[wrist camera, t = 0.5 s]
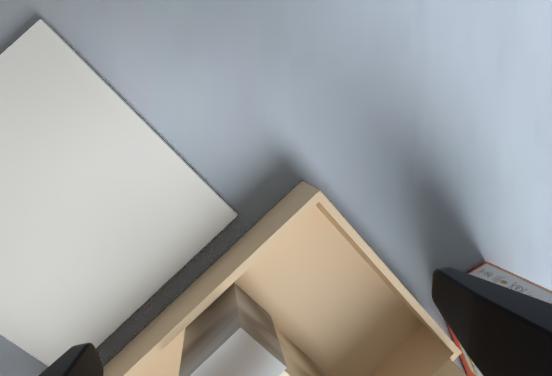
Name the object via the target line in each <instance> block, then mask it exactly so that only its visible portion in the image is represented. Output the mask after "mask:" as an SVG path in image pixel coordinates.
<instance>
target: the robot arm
mask: <svg viewBox="0 0 552 376" xmlns="http://www.w3.org/2000/svg"><path fill="white" fill-rule="evenodd" d="M432 298H433V301H434V303H435V305H436V306H437V308H438V309H439V311H440V313H441V314H442V316H443V317H444V319H445V321H446V322H447V324H448V325H449V327H450V328H451V330H452V332H453V333H454V335H455V336H456V338H457V340H458V341H459V343H460V344H461V346H462V347H463V349H464V350H465V352H466V353H467V355H468V356H469V358H470V359H471V360H472V362H473V363H474V364H475V366H476V367H477V368H478V370H479V371H480V372H481V373H482V375H483V376H552V304H551V303H548V302H545V301H543V300H540V299H537V298H534V297H531V296H529V295H526V294H523V293H520V292H518V291H515V290H512V289H509V288H507V287H504V286H501V285H498V284H496V283H493V282H490V281H487V280H485V279H482V278H479V277H476V276H474V275H471V274H468V273H465V272H462V271H460V270H457V269H454V268H451V267H444V268H440V269H436V270H435V271H434V272H433V280H432ZM103 375H104V369H103V365H102V363H101V360H100V358H99V356H98V353H97V351H96V349H95V346H94V345H93V344H92V343H89V342H88V343H83V344H78V345H74V346H72V347H71V348H69V349H68V350H67V351H66V352H65V353H64V354H63V355H61V356H60V357H59V358H58V359H57V360H56V361H55V362H53V363H52V364H51V365H50V366H49V367H48V368H47V369H45V370H44V371H43V372H42V373H41V374H40V375H39V376H103Z"/></svg>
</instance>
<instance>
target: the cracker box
mask: <svg viewBox="0 0 552 376" xmlns="http://www.w3.org/2000/svg"><path fill="white" fill-rule="evenodd" d="M468 274H471V275H474V276H476V277H479V278H482V279H485V280H487V281H490V282H493V283H496V284H498V285H501V286H504V287H507V288H509V289H512V290H515V291H518V292H520V293H523V294H526V295H529V296H531V297H534V298H537V299H540V300H543V301H545V302H548V303H551V304H552V291H550V290H548V289H546V288H544V287H542V286H539V285H537V284H535V283H533V282H531V281H528V280H526V279H524V278H522V277H519V276H517V275H515V274H513V273H511V272H509V271H506V270H504V269H502V268H500V267H498V266H495V265H493V264H491V263H489V262H485V263H483V264H481V265H480V266H478V267H477V268H475V269H473V270H472V271H470V272H468ZM447 325H448V324H447ZM448 327H449V325H448ZM449 330H450V332H451V335H452V337H453V340H454V342H455V345H456V346H457V347H458V348H459V349H460V351H461V352H462V353H461V354H460V357H461V360H462V363H463V365H464V368H465V370H466V373H467V375H468V376H483V375H482V373H481V372H480V371H479V370H478V368H477V367H476V366H475V364H474V363H473V362H472V360H471V359H470V358H469V356H468V355H467V353H466V352H465V350H464V349H463V347H462V346H461V344H460V343H459V341H458V340H457V338H456V336H455V335H454V333H453V332H452V330H451V328H450V327H449Z"/></svg>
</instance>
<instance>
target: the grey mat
mask: <svg viewBox="0 0 552 376" xmlns="http://www.w3.org/2000/svg"><path fill="white" fill-rule="evenodd" d="M237 216H238V215H237V213H236V212H235V211H234V210H233V209H232V208H231V207H230V206H229V205H228V204H227V203H226V202H225V201H224V200H223V199H222V198H221V197H220V196H219V195H218V194H217V193H216V192H215V191H214V190H213V189H212V188H211V187H210V186H209V185H208V184H207V183H206V182H205V181H204V180H203V179H202V178H201V177H200V176H199V175H198V174H197V173H196V172H195V171H194V170H193V169H192V168H191V167H190V166H189V165H188V164H187V163H186V162H185V161H184V160H183V159H182V158H181V157H180V156H179V155H178V154H177V153H176V152H175V151H174V150H173V149H172V148H171V147H170V146H169V145H168V144H167V143H166V142H165V141H164V140H163V139H162V138H161V137H160V136H159V135H158V134H157V133H156V132H155V131H154V130H153V129H152V128H151V127H150V126H149V125H148V124H147V123H146V122H145V121H144V120H143V119H142V118H141V117H140V116H139V115H138V114H137V113H136V112H135V111H134V110H133V109H132V108H131V107H130V106H129V105H128V104H127V103H126V102H125V101H124V100H123V99H122V98H121V97H120V96H119V95H118V94H117V93H116V92H115V91H114V90H113V89H112V88H111V87H110V86H109V85H108V84H107V83H106V82H105V81H104V80H103V79H102V78H101V77H100V76H99V75H98V74H97V73H96V72H95V71H94V70H93V69H92V68H91V67H90V66H89V65H88V64H87V63H86V62H85V61H84V60H83V59H82V58H81V57H80V56H79V55H78V54H77V53H76V52H75V51H74V50H73V49H72V48H71V47H70V46H69V45H68V44H67V43H66V42H65V41H64V40H63V39H62V38H61V37H60V36H59V35H58V34H57V33H56V32H55V31H54V30H53V29H52V28H51V27H50V26H49V25H48V24H47V23H46V22H45V21H43V20H41V19H39V20H38V21H37V22H36V23H35V24H34V25H33V26H32V27H31V28H29V29H28V30H27V31H26V32H25V33H24V34H23V35H22V36H21V37H19V38H18V39H17V40H16V41H15V42H14V43H13V44H12V45H11V46H9V47H8V48H7V49H6V50H5V51H4V52H3V53H2V54H1V55H0V335H2V336H3V337H5V338H6V339H8V340H9V341H11V342H12V343H14V344H15V345H17V346H18V347H20V348H21V349H23V350H24V351H26V352H27V353H29V354H30V355H32V356H33V357H35V358H36V359H38V360H39V361H41V362H42V363H44V364H45V365H47V366H48V367H49V366H50V365H51V364H52V363H53V362H55V361H56V360H57V359H58V358H59V357H60V356H61V355H63V354H64V353H65V352H66V351H67V350H68V349H69V348H71V347H72V346H74V345H78V344H83V343H88V342H89V343H92V344H93V345H94V346H95V349H96V348H97V347H98V346H99V345H100V344H101V343H102V342H103V341H104V340H105V339H106V338H107V337H109V336H110V335H111V334H112V333H113V332H114V331H115V330H116V329H117V328H118V327H119V326H120V325H121V324H122V323H123V322H125V321H126V320H127V319H128V318H129V317H130V316H131V315H132V314H133V313H134V312H135V311H136V310H137V309H138V308H140V307H141V306H142V305H143V304H144V303H145V302H146V301H147V300H148V299H149V298H150V297H151V296H152V295H153V294H154V293H156V292H157V291H158V290H159V289H160V288H161V287H162V286H163V285H164V284H165V283H166V282H167V281H168V280H169V279H171V278H172V277H173V276H174V275H175V274H176V273H177V272H178V271H179V270H180V269H181V268H182V267H183V266H184V265H185V264H187V263H188V262H189V261H190V260H191V259H192V258H193V257H194V256H195V255H196V254H197V253H198V252H199V251H200V250H201V249H203V248H204V247H205V246H206V245H207V244H208V243H209V242H210V241H211V240H212V239H213V238H214V237H215V236H216V235H218V234H219V233H220V232H221V231H222V230H223V229H224V228H225V227H226V226H227V225H228V224H229V223H230V222H231V221H232V220H234V219H235V218H236V217H237Z"/></svg>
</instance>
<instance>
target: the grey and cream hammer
mask: <svg viewBox="0 0 552 376" xmlns="http://www.w3.org/2000/svg"><path fill="white" fill-rule="evenodd" d="M179 376H329V375H328V374H327V373H325V372H324V371H323V370H322V369H321V368H320V367H319V366H318V365H317V364H316V363H314V362H313V361H312V360H311V359H310V358H309V357H308V356H307V355H306V354H304V353H303V352H302V351H301V350H300V349H299V348H298V347H297V346H296V345H295V344H293V343H292V342H291V341H290V340H289V339H288V338H287V337H286V336H285V335H284V334H282V333H281V332H280V331H279V330H278V329H277V328H276V327H275V326H274V324H273V321H272V318H271V316H270V315H269V314H268V313H267V312H266V311H265V310H264V309H263V308H262V307H261V306H260V305H258V304H257V303H256V302H255V301H254V300H253V299H252V298H251V297H250V296H249V295H247V294H246V293H245V292H244V291H243V290H242V289H241V288H240V287H239V286H238V285H237V284H235V283H233V284H232V285H231V286H230V287H229V288H228V289H227V290H226V291H225V292H224V293H222V294H221V295H220V296H219V297H218V298H217V299H216V300H215V301H214V302H213V303H212V304H211V305H210V306H209V307H208V308H207V309H206V310H204V311H203V312H202V313H201V314H200V315H199V316H198V317H197V318H196V319H195V320H194V321H193V322H192V323H191V324H190V325H189V326H187V327H186V328H185V334H184V341H183V348H182V355H181V363H180V370H179Z"/></svg>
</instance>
